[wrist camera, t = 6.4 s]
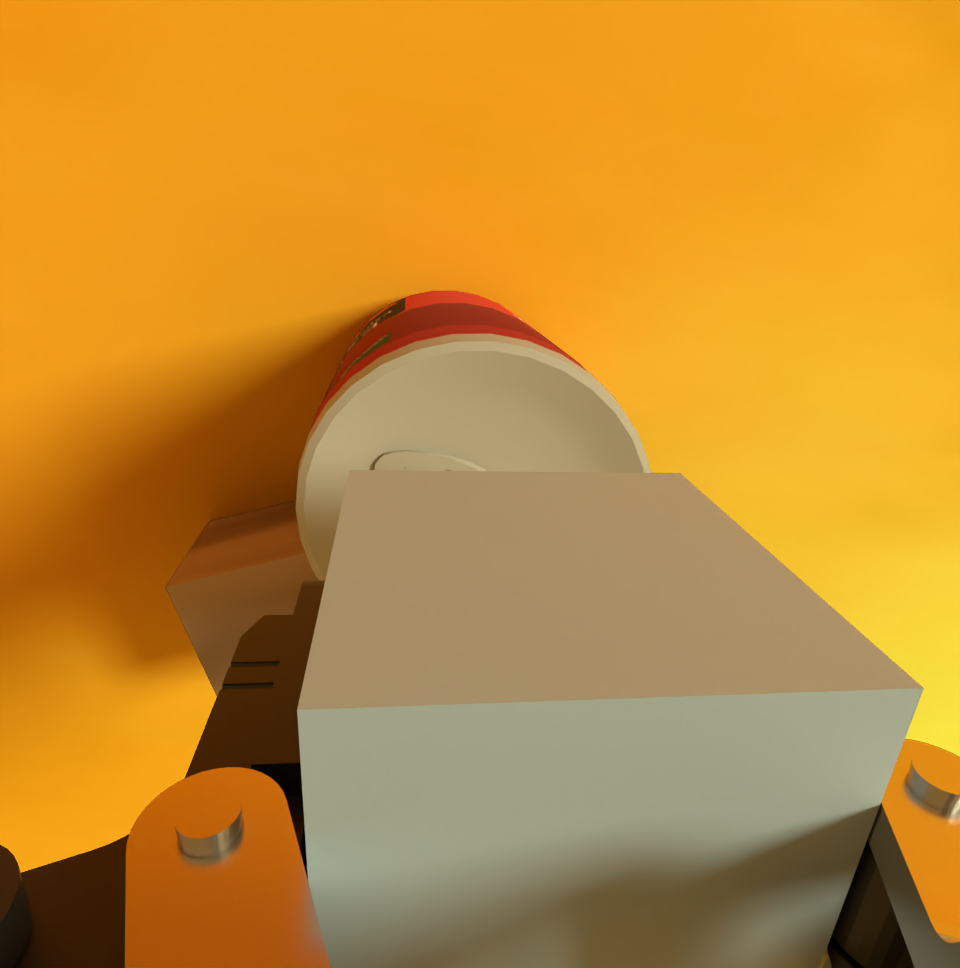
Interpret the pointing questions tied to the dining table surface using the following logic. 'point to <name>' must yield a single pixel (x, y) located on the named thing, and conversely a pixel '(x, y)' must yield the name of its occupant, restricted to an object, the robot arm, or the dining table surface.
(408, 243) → the dining table surface
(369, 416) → the canned food
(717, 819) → the light grey cube
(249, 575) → the walnut block
